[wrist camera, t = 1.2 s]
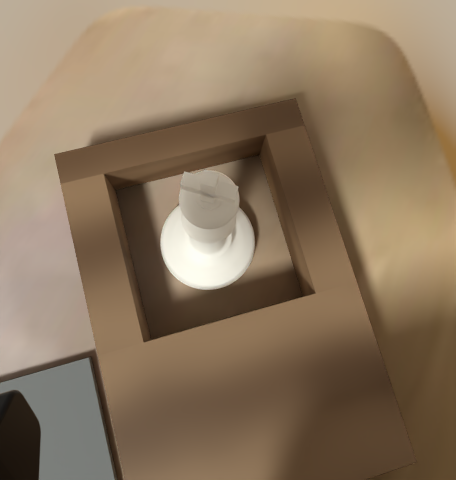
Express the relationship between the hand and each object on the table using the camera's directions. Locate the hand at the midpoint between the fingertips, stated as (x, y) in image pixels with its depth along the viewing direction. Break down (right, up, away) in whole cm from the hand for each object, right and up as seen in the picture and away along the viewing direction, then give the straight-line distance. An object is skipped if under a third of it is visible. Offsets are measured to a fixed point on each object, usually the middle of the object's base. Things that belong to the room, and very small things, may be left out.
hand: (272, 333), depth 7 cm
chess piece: (-2, +2, +14) cm, 14 cm away
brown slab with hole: (-1, -1, +13) cm, 13 cm away
